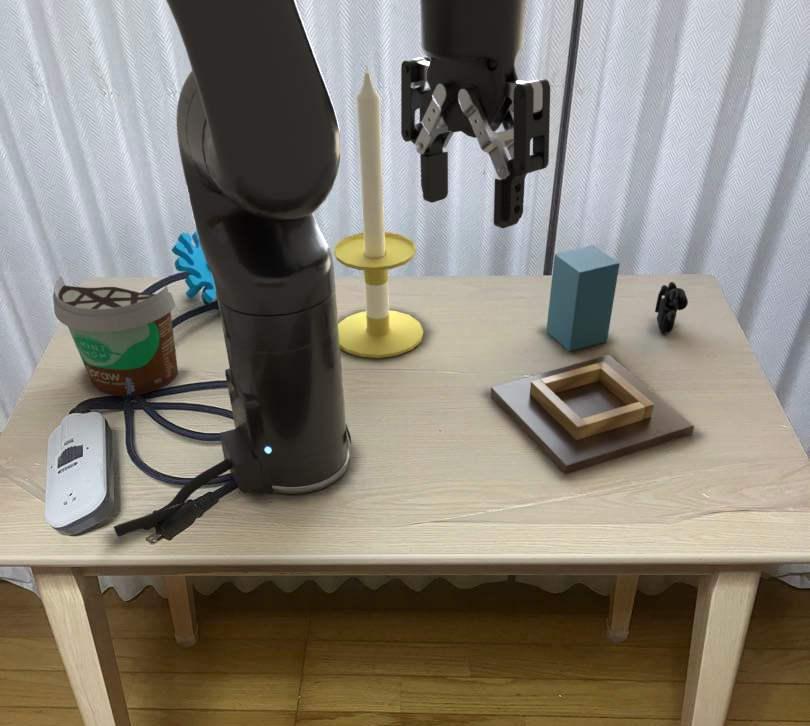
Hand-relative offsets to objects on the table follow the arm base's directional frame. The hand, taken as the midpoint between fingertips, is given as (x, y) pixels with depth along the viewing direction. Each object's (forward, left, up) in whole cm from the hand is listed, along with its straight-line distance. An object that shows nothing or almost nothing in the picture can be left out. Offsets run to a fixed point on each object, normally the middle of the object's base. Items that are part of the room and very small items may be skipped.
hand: (470, 212), depth 70 cm
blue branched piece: (-15, +34, -20) cm, 42 cm away
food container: (-29, +20, -20) cm, 41 cm away
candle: (-1, +18, -20) cm, 27 cm away
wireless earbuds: (+28, +5, -20) cm, 35 cm away
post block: (+18, +8, -20) cm, 28 cm away
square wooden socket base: (+11, -5, -20) cm, 23 cm away
